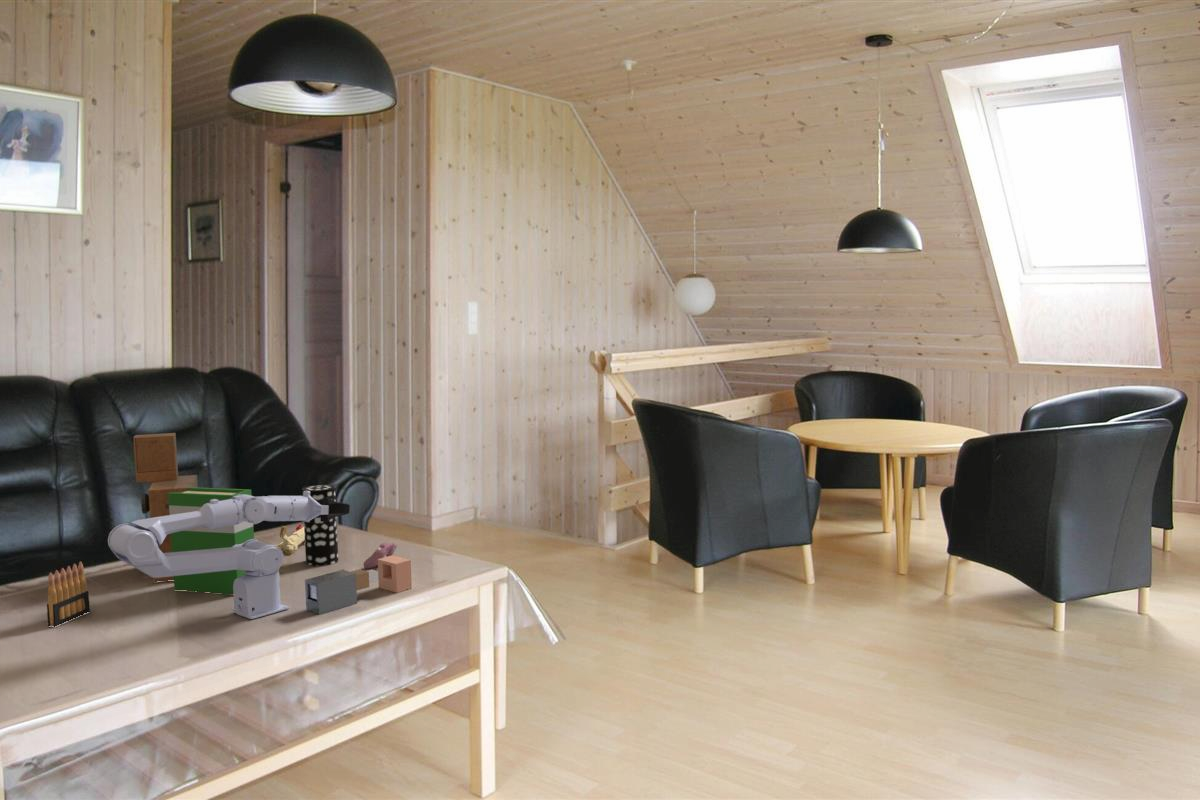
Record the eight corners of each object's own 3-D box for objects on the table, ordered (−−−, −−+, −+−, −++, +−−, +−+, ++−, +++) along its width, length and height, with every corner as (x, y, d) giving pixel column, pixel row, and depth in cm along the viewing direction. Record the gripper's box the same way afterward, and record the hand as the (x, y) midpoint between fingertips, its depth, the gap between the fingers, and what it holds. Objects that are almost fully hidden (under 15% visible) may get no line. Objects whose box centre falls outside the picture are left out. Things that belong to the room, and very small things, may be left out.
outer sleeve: (319, 614, 216) (317, 583, 216) (306, 610, 220) (304, 579, 219) (357, 603, 224) (355, 573, 223) (344, 599, 227) (342, 569, 226)
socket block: (397, 592, 231) (395, 564, 231) (378, 587, 236) (377, 559, 235) (411, 588, 235) (410, 560, 234) (393, 583, 239) (392, 555, 239)
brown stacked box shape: (144, 565, 260) (136, 434, 256) (202, 559, 265) (194, 431, 261) (136, 584, 242) (126, 444, 238) (198, 578, 247) (189, 440, 243)
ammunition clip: (55, 628, 211) (50, 573, 209) (47, 627, 211) (43, 573, 210) (90, 612, 221) (86, 560, 220) (83, 611, 221) (79, 560, 220)
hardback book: (174, 590, 236) (168, 493, 234) (194, 582, 243) (188, 487, 241) (238, 595, 232) (232, 495, 229) (256, 586, 239) (251, 489, 236)
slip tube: (318, 601, 217) (318, 585, 217) (309, 598, 219) (308, 582, 219) (380, 583, 230) (379, 569, 229) (370, 581, 232) (369, 566, 232)
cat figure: (299, 560, 268) (344, 531, 291) (296, 529, 266) (341, 503, 290) (267, 558, 270) (314, 530, 294) (263, 528, 269) (311, 502, 292)
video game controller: (376, 575, 252) (386, 552, 251) (361, 567, 252) (371, 544, 251) (391, 565, 262) (401, 542, 260) (377, 557, 262) (387, 534, 261)
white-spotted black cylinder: (345, 560, 262) (341, 486, 259) (320, 567, 255) (317, 492, 252) (323, 556, 266) (320, 483, 264) (299, 563, 259) (295, 489, 257)
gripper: (304, 492, 218) (357, 492, 227) (272, 489, 228) (324, 489, 237) (302, 524, 217) (355, 523, 227) (270, 519, 227) (323, 518, 237)
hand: (339, 507), depth 232 cm, fingers open, 7 cm apart
